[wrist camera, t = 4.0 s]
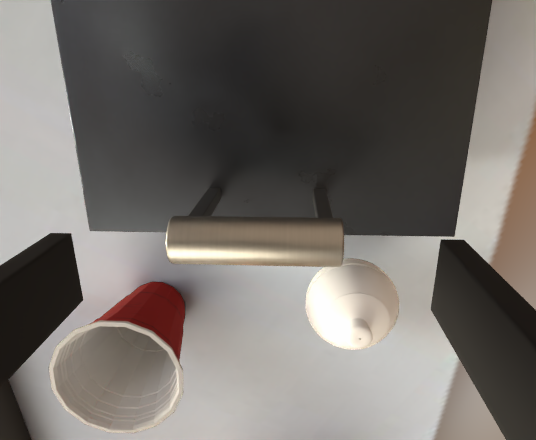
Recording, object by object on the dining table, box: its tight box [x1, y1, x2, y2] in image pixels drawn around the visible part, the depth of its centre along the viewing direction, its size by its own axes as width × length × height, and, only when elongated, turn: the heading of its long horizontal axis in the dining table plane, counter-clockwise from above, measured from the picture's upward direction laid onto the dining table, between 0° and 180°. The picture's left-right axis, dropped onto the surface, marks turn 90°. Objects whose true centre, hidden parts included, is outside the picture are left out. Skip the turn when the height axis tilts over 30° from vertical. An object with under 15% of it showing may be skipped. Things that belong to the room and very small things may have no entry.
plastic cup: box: [49, 282, 185, 433], centre depth 38 cm, size 11×11×12 cm
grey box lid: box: [51, 0, 492, 267], centre depth 17 cm, size 23×22×9 cm
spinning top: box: [305, 258, 399, 350], centre depth 35 cm, size 8×8×12 cm
